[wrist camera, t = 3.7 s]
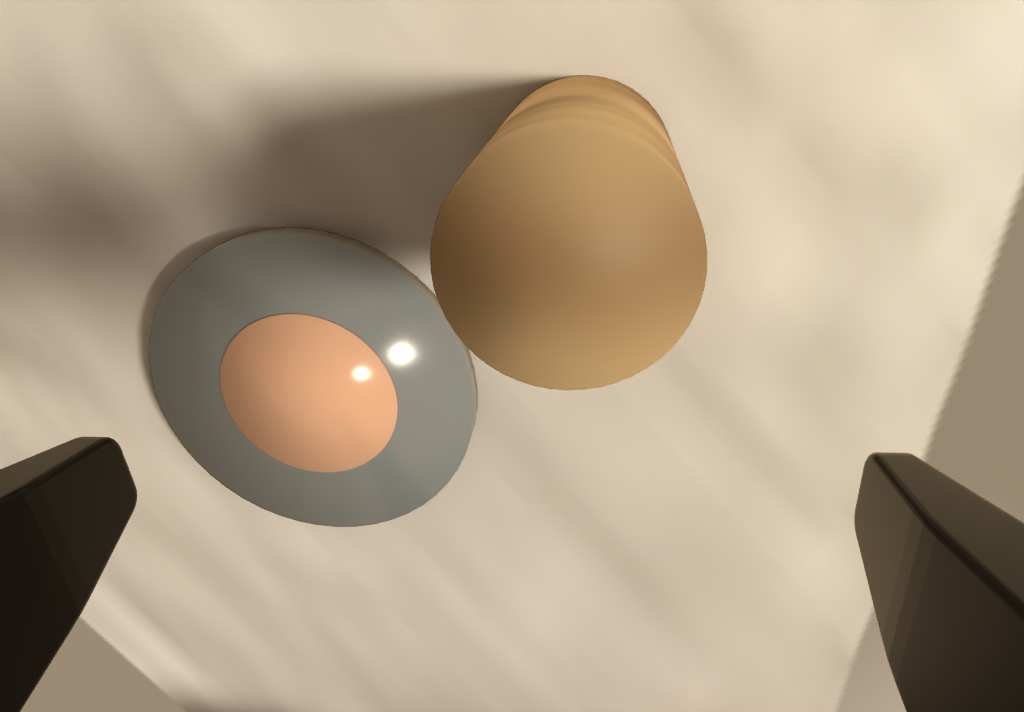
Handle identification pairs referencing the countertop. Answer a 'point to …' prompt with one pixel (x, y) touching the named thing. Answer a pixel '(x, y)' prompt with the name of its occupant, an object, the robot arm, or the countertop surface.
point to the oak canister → (571, 240)
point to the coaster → (313, 377)
